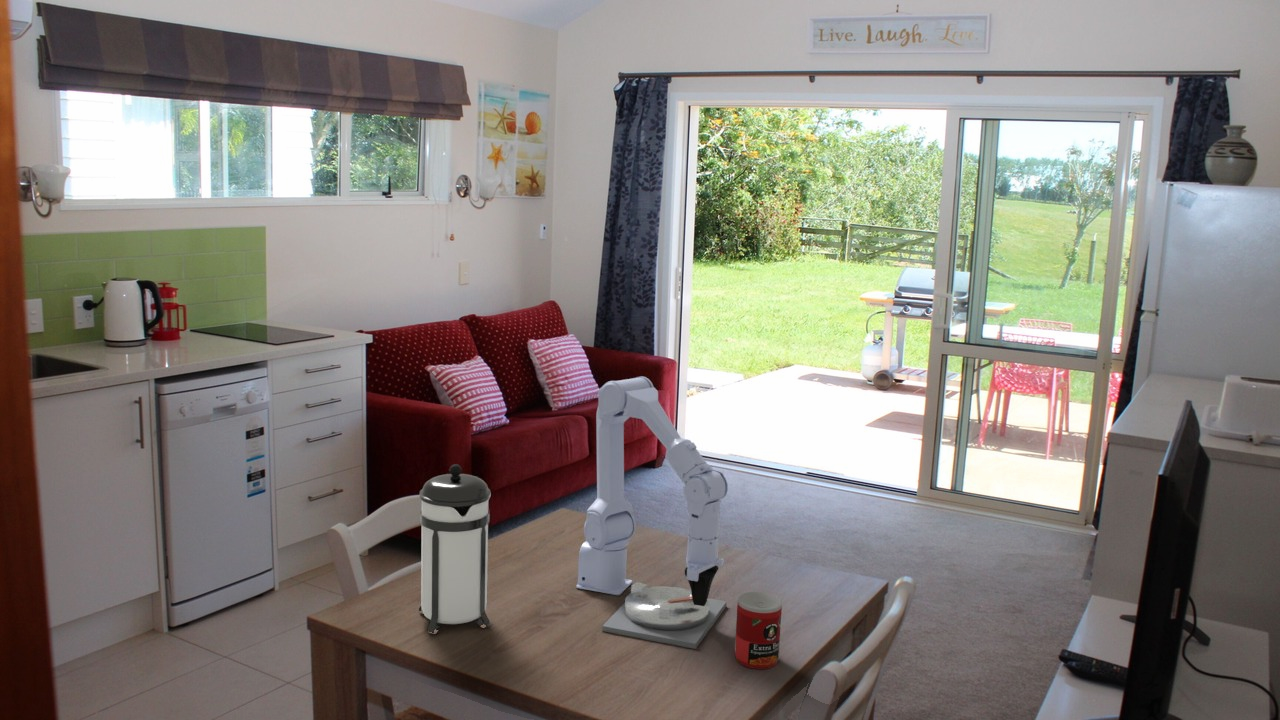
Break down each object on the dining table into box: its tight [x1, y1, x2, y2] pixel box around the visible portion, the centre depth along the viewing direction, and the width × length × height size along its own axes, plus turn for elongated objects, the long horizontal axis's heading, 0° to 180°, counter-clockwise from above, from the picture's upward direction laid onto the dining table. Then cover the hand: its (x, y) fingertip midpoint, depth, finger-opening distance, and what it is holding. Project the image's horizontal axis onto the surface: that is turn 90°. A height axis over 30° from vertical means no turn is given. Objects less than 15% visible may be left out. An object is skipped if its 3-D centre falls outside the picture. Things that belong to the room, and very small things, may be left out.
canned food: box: [734, 591, 783, 670], centre depth 180 cm, size 8×8×11 cm
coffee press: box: [418, 463, 492, 633], centre depth 191 cm, size 17×16×30 cm
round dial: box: [624, 581, 709, 630], centre depth 196 cm, size 16×16×4 cm
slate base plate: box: [601, 597, 727, 650], centre depth 197 cm, size 18×21×1 cm
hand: (699, 604), depth 194 cm, fingers closed
